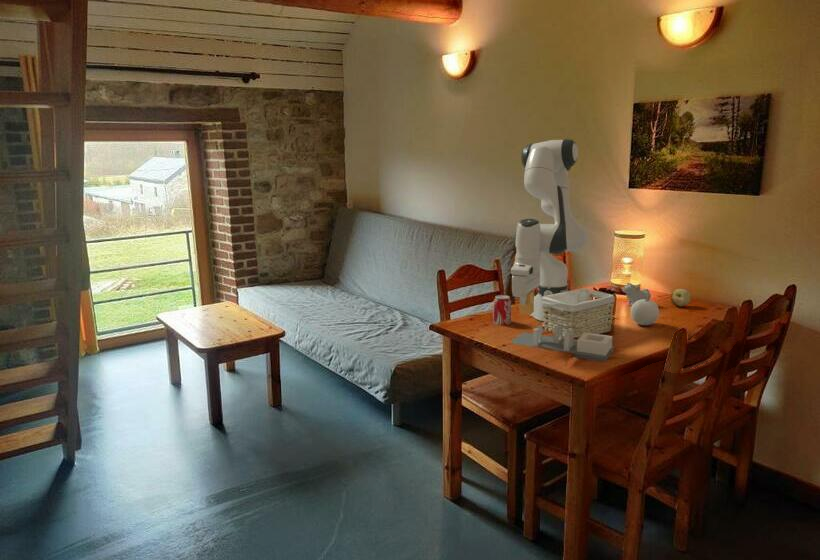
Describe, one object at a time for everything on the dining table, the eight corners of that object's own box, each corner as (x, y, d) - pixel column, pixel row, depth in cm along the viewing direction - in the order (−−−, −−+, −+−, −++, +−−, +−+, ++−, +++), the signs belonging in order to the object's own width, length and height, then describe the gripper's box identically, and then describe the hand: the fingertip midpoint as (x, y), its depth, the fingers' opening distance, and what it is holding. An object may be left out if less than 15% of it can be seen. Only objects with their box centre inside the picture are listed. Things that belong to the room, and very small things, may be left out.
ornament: (660, 329, 232) (662, 299, 229) (632, 328, 234) (634, 298, 231) (655, 321, 242) (657, 292, 239) (628, 320, 244) (630, 291, 241)
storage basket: (570, 344, 216) (572, 304, 213) (538, 333, 230) (539, 295, 226) (615, 332, 229) (617, 294, 226) (582, 322, 242) (583, 287, 239)
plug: (514, 309, 222) (514, 288, 220) (533, 312, 218) (534, 290, 216) (510, 312, 218) (510, 291, 216) (529, 315, 215) (530, 293, 213)
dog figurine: (618, 305, 267) (619, 281, 265) (646, 304, 269) (647, 280, 266) (623, 308, 262) (625, 284, 260) (651, 307, 263) (653, 283, 261)
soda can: (501, 329, 234) (502, 299, 232) (489, 325, 240) (489, 296, 237) (514, 326, 238) (515, 296, 236) (501, 322, 244) (502, 293, 241)
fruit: (666, 305, 265) (667, 288, 264) (679, 303, 269) (681, 286, 267) (680, 309, 259) (681, 291, 257) (694, 307, 262) (695, 289, 260)
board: (522, 336, 226) (523, 317, 224) (613, 349, 209) (614, 328, 208) (509, 347, 214) (509, 326, 212) (604, 362, 198) (605, 340, 196)
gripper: (528, 259, 223) (527, 295, 227) (508, 270, 206) (508, 309, 209) (545, 260, 220) (544, 297, 224) (526, 272, 203) (525, 311, 206)
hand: (526, 303), depth 216 cm, fingers closed on plug, 4 cm apart
